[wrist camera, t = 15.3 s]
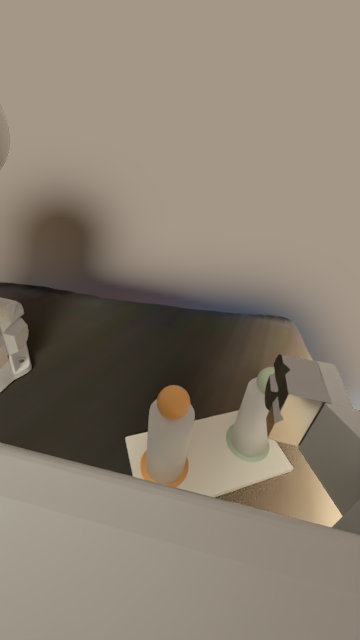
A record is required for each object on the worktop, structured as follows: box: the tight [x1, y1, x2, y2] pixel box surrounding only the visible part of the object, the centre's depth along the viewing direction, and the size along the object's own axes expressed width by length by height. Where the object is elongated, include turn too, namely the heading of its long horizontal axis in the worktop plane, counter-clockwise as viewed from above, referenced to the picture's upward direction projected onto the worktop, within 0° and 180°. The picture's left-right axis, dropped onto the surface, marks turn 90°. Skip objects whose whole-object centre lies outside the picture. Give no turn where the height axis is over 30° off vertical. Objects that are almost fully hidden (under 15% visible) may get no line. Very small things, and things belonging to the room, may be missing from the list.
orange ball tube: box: [146, 385, 195, 484], centre depth 31 cm, size 5×5×13 cm
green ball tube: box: [230, 367, 275, 457], centre depth 35 cm, size 5×5×13 cm
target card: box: [125, 410, 293, 497], centre depth 37 cm, size 10×20×1 cm, turn 109°
